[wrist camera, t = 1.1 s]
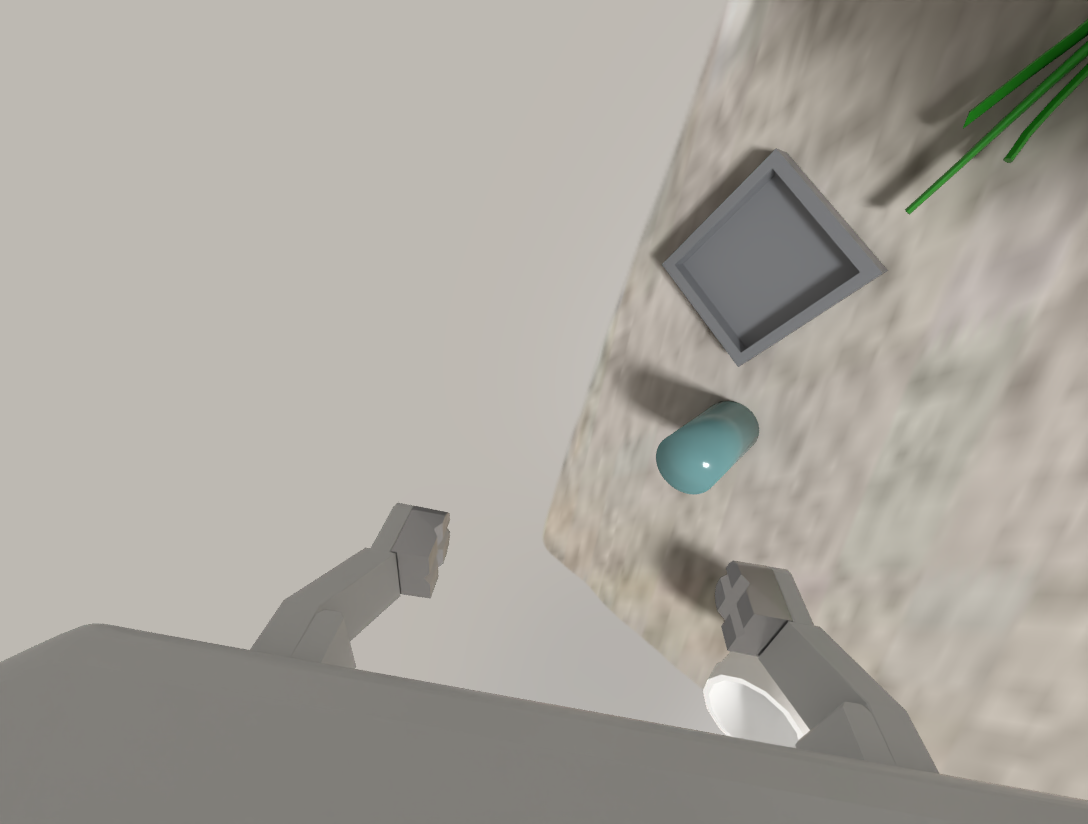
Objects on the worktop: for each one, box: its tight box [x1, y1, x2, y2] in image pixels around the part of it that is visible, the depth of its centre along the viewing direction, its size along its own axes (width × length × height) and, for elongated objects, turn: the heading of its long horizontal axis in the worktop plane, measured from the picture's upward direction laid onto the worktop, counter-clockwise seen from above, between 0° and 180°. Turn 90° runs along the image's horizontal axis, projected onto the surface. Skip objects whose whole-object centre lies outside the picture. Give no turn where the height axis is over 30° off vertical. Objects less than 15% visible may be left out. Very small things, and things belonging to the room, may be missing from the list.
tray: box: [662, 149, 888, 367], centre depth 39 cm, size 13×13×3 cm
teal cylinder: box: [656, 401, 759, 494], centre depth 43 cm, size 6×6×11 cm
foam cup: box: [703, 651, 810, 748], centre depth 45 cm, size 10×9×13 cm
